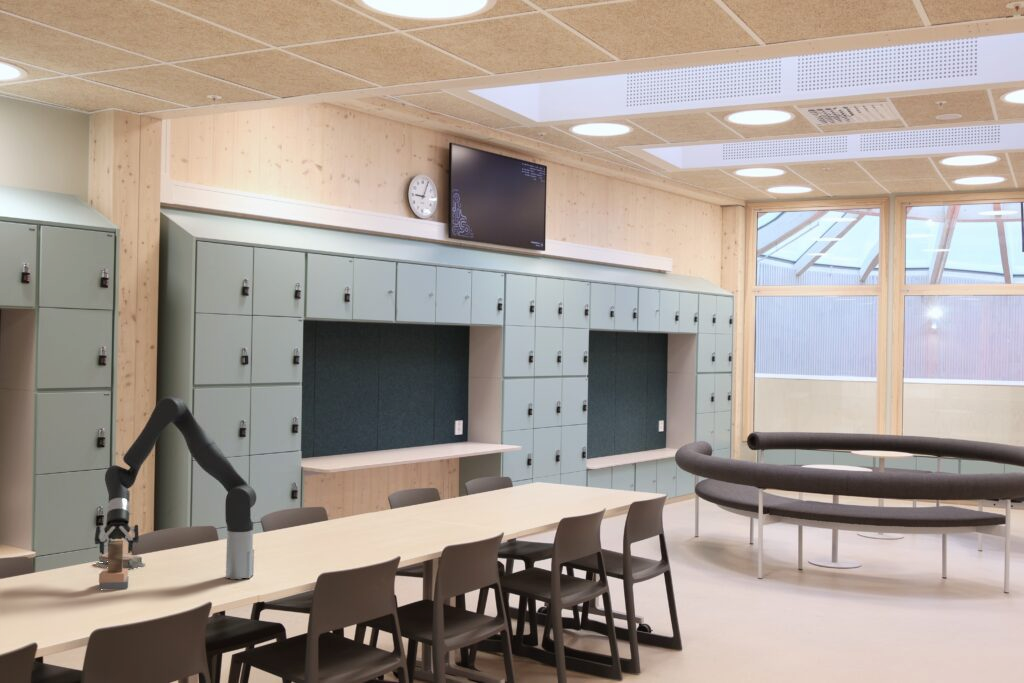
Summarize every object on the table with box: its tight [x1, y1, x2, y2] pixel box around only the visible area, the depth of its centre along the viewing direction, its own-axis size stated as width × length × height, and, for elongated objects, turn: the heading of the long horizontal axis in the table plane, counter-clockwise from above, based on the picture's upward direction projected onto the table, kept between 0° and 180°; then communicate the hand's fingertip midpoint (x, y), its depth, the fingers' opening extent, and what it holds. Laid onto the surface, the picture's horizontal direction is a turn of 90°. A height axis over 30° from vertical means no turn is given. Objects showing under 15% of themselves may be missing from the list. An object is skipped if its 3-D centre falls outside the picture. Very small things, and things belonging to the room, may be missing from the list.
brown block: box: [107, 540, 124, 573], centre depth 338 cm, size 4×4×10 cm
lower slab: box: [98, 575, 129, 591], centre depth 338 cm, size 9×9×3 cm
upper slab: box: [98, 568, 129, 584], centre depth 338 cm, size 8×8×3 cm
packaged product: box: [92, 551, 146, 571], centre depth 370 cm, size 18×5×10 cm
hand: (116, 552), depth 337 cm, fingers open, 8 cm apart
